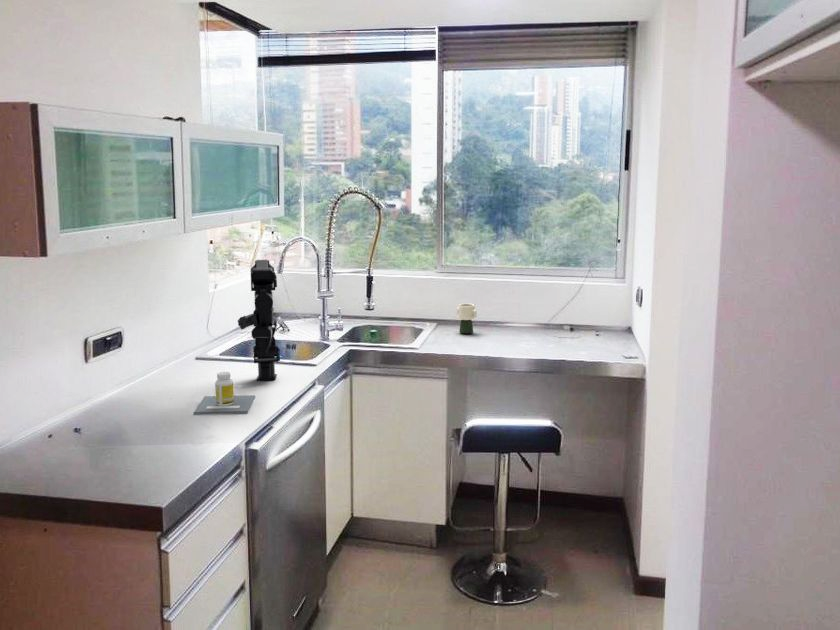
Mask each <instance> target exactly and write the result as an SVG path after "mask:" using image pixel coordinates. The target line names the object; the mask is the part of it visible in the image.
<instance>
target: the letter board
mask: <svg viewBox="0 0 840 630" xmlns="http://www.w3.org/2000/svg"><path fill="white" fill-rule="evenodd" d="M254 398H255V399H256V395H255V394H254V395H252V394H251V395H247V394H246V395H245V394H244V395H234V403H233V404H232V405H229V406H219V405H217V404H216V395H213V396H212V395H211V396H210V395H207V396H206V395H205V396H204V397H203V398H202V399H201V400H200V402H199V404H198V405H197V407H196V408H195V410H194V411H193V415H224V414H225V415H227V414H228V415H229V414H235V415H236V414H237V415H238V414H248V413H249V411H250V409H251V407H252V405H253V403H254V401H255V399H254ZM253 400H254V401H253Z"/></svg>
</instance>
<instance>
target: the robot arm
mask: <svg viewBox="0 0 840 630" xmlns="http://www.w3.org/2000/svg"><path fill="white" fill-rule="evenodd" d="M277 280H278V279H277V274H276V271H275V268H274V266H272V265H271V264H270V260H268V259H256V260H255V261H254V265H253V266H251V268H250V291H251V292H254V310H253V313H251V314H248V315H243V316H240V317H239V318H238V319H237V323H238V325H237V326H238V327H239V328H240V330H241V331H242V330H244V329H246V328H248V327H251V326H253V328H252V330H251V337H252V339H253V340H254V341H255V343H254V345H253V348H252V349H253V363H254V364H257V373H258V374H257V377H256V378H255V380H256V381H276V378H277V377H278V374H277V373H276V369H275V365H276V364H275V363H279V362H280V361H281V349H280V347H279V346H278V344H276V338H275V337H274V336H275V333H276V331H277V327H278V320H277V318H275V317H274V312H275V311H274V310H275V308H274V299H273V291H276V288H277V287H278V284H277V283H278V282H277Z"/></svg>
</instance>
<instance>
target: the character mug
mask: <svg viewBox="0 0 840 630" xmlns="http://www.w3.org/2000/svg"><path fill="white" fill-rule="evenodd" d="M456 315H458V319H459V320H461V321H460V324H459V333H460V334H468V335H469V334H471V333H474V326H473V321H472V320H474V319H475V318H477V315H478V314H477V310H476V309H475V304H473V303H460V304H459V303H458V307H456Z"/></svg>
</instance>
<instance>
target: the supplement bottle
mask: <svg viewBox="0 0 840 630" xmlns="http://www.w3.org/2000/svg"><path fill="white" fill-rule="evenodd" d="M216 377H217V380H216V381H215V382H214V386H215V396H216V404H217V405H219V406H229V405H232V404H233V403H234V396H235V395H234V382H233V380H232V379H231V372H229V371H221V372H218V373H216Z"/></svg>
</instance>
